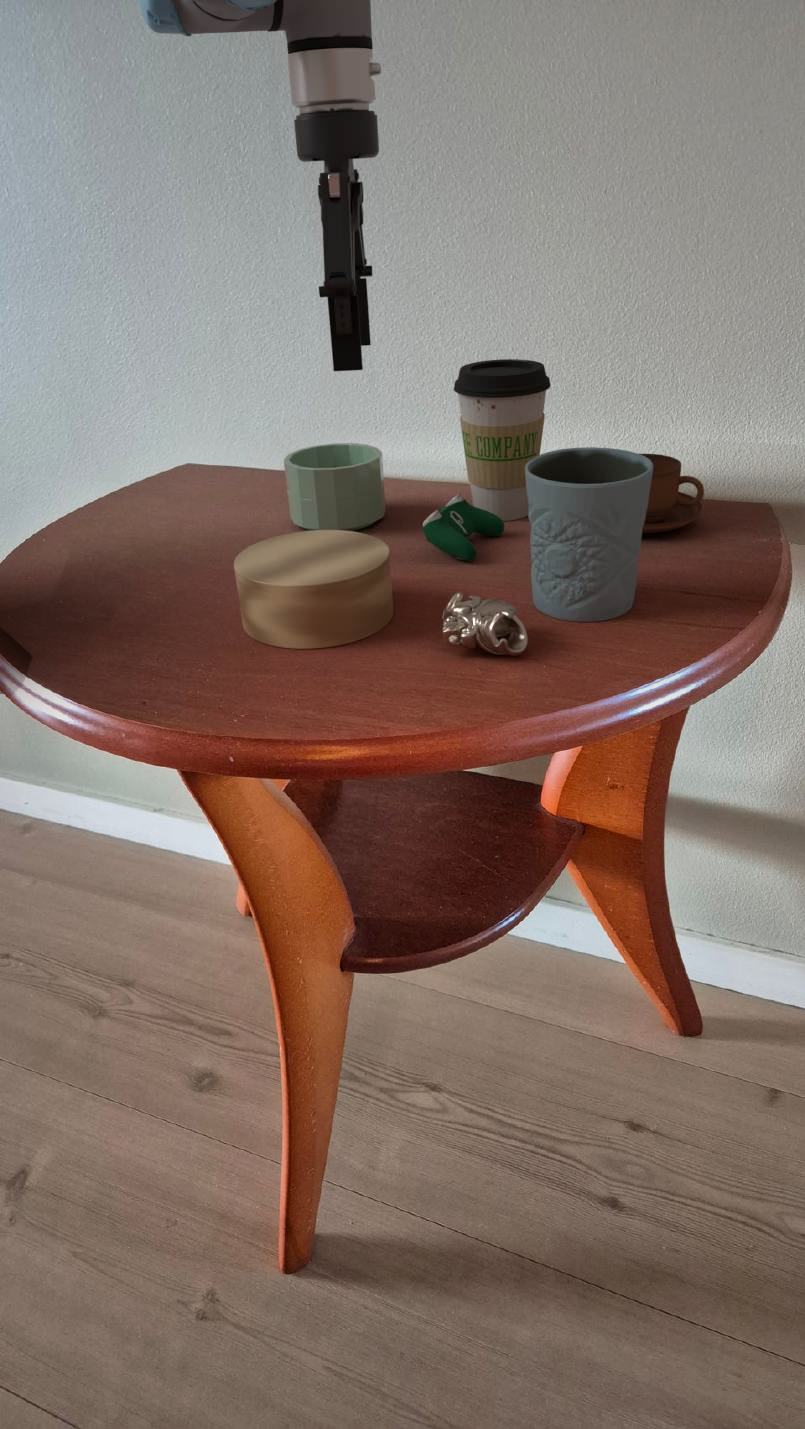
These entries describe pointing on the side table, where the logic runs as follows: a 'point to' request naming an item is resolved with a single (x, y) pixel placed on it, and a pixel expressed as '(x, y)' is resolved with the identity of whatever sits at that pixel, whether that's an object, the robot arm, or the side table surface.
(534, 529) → the blue-grey embossed tumbler
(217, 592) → the side table surface
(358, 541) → the stand
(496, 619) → the ornament
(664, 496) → the cup and saucer
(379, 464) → the bowl
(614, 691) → the side table surface
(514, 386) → the coffee cup
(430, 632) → the side table surface
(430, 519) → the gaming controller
